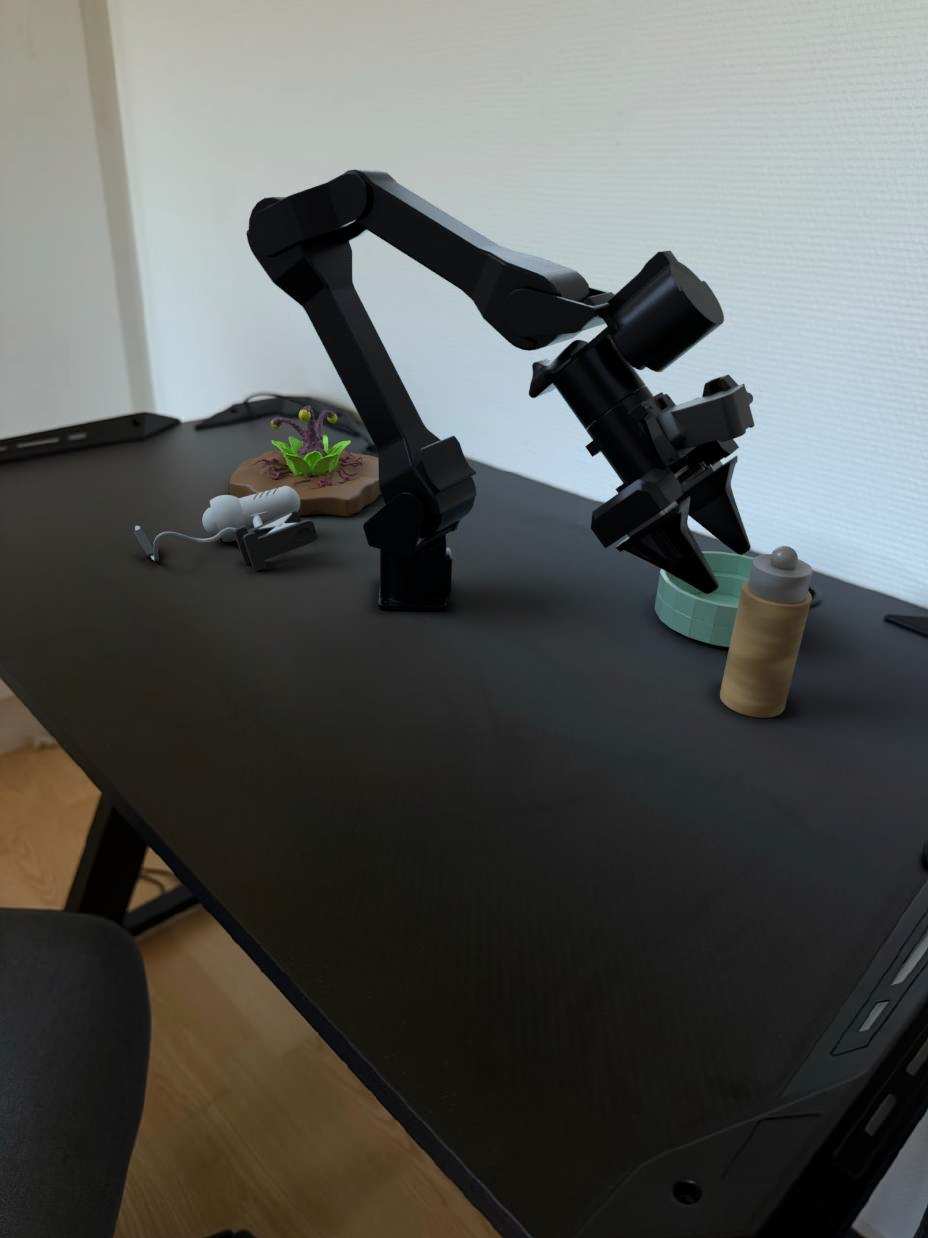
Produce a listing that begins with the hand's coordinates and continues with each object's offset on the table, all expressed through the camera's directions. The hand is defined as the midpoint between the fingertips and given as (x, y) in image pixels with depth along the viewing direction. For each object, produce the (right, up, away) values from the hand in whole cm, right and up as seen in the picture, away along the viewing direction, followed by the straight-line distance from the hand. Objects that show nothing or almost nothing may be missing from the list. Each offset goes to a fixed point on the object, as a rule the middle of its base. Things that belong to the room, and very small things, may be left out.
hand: (730, 570), depth 70 cm
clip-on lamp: (-47, +3, +26) cm, 53 cm away
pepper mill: (+3, -11, +3) cm, 11 cm away
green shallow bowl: (+4, -4, +16) cm, 17 cm away
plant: (-41, +13, +45) cm, 62 cm away
